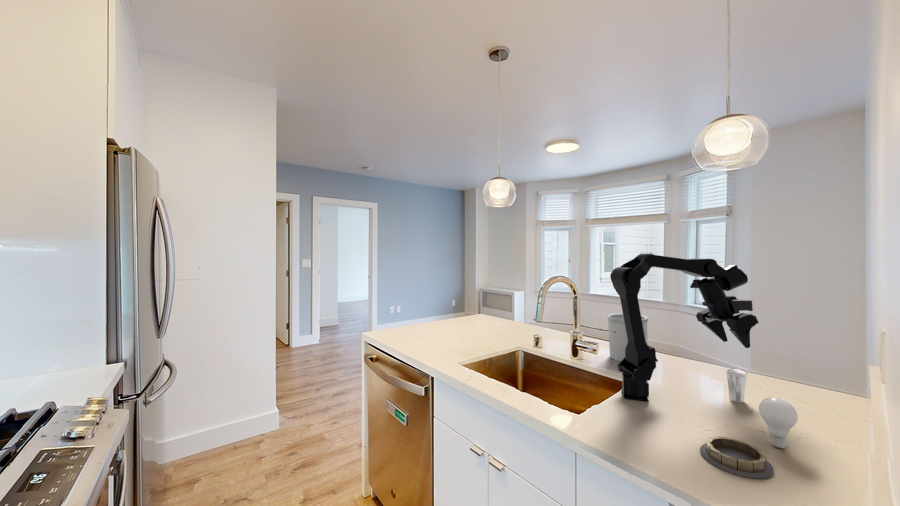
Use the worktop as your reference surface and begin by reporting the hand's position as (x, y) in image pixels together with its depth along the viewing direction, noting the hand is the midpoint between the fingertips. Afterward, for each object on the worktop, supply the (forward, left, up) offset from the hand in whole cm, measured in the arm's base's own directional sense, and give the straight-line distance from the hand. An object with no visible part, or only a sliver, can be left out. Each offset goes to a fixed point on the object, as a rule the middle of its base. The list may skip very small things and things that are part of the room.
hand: (736, 344), depth 105 cm
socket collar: (-14, -40, -16) cm, 45 cm away
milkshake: (-1, -5, -16) cm, 17 cm away
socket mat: (-14, -40, -16) cm, 45 cm away
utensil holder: (-26, +29, -16) cm, 42 cm away
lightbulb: (-3, -31, -16) cm, 35 cm away
